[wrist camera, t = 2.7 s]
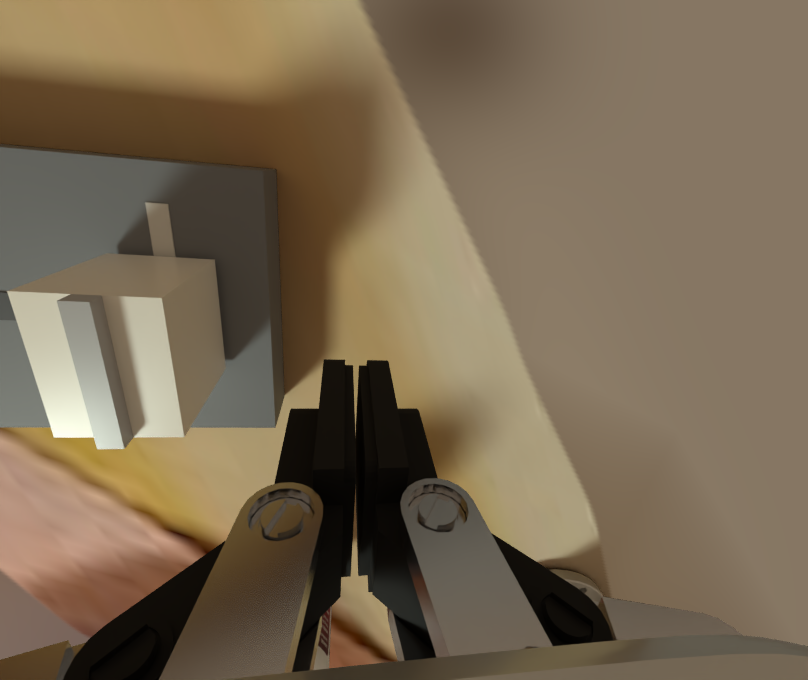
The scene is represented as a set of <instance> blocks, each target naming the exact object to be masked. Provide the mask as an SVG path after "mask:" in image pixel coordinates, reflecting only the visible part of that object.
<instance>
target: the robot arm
mask: <svg viewBox="0 0 808 680" xmlns="http://www.w3.org/2000/svg"><path fill="white" fill-rule="evenodd" d="M355 484H356V515H357V549H358V575H359V576H362V575H368V591H369V592H373V595H374V596H375V597H376V598H377V599H379V600H380V601H381V602H382V603H383V604H384V605H385V606H387V607H388V609H387V611H388V621H389V625H390V630H391V634H392V638H393V642H394V647H395V651H396V655H397V660H398V662H388V663H378V664H368V665H358V666H348V667H339V668H329V669H319V670H313V669H314V664H315V659H316V653H317V648H318V643H319V638H320V633H321V627H322V616H323V614H324V613H325V612H326V611H327V610H328V609H329V608H330V607H331V606H332V605H333V604H334V603H335V602H336V601H337V600H338V599H339V598H340V592H341V577H347V576H351V558H352V539H353V521H354V502H355ZM0 680H808V646H805V645H799V644H795V643H790V642H785V641H780V640H774V639H769V638H763V637H752V636H743V635H742V634H740V633H739V632H738V631H737V630H736V629H735V628H733V627H732V626H730V625H728V624H727V623H725V622H723V621H722V620H720V619H718V618H716V617H713V616H710V615H707V614H703V613H697V612H692V611H686V610H680V609H674V608H668V607H662V606H656V605H650V604H644V603H638V602H632V601H626V600H620V599H614V598H608V597H604V596H603V595H602V593H601V591H600V590H599V588H598V587H597V585H596V584H595V583H594V582H593V581H592V580H591V579H590V578H588V577H586V576H584V575H582V574H580V573H576V572H572V571H568V570H559V569H549V570H548V569H547V568H545V567H544V566H542V565H540V564H539V563H537V562H536V561H534V560H533V559H531V558H529V557H528V556H526V555H525V554H523V553H522V552H520V551H518V550H517V549H515V548H514V547H512V546H511V545H509V544H507V543H506V542H504V541H503V540H501V539H500V538H498V537H496V536H495V535H493V534H492V533H491V532H490V530H489V528H488V527H487V525H486V523H485V521H484V519H483V518H482V516H481V514H480V512H479V510H478V508H477V507H476V505H475V503H474V501H473V500H472V498H471V497H470V496H469V494H468V493H467V492H466V491H465V490H463V489H462V488H461V487H460V486H458V485H456V484H454V483H452V482H450V481H448V480H443V479H438V478H437V474H436V471H435V467H434V464H433V460H432V456H431V453H430V449H429V446H428V442H427V438H426V435H425V431H424V428H423V424H422V420H421V417H420V413H419V411H418V409H398V408H397V403H396V398H395V393H394V388H393V383H392V378H391V373H390V368H389V363H388V361H377V360H367V366H359V378H358V397H357V417H356V437H355V414H354V384H353V365H345V360H324V364H323V374H322V383H321V393H320V403H319V409H291V410H290V413H289V418H288V423H287V427H286V432H285V437H284V441H283V446H282V451H281V456H280V460H279V465H278V470H277V475H276V479H275V484H274V485H270V486H267V487H265V488H263V489H261V490H259V491H257V492H256V493H255V494H254V495H253V496H251V497H250V498H249V499H248V500H247V501H246V503H245V504H244V506H243V507H242V508H241V510H240V512H239V514H238V516H237V518H236V521H235V523H234V525H233V527H232V529H231V531H230V533H229V535H228V537H227V539H226V541H224V542H223V543H222V544H220V545H219V546H217V547H216V548H215V549H213V550H212V551H210V552H209V553H207V554H206V555H205V556H203V557H202V558H200V559H199V560H197V561H196V562H195V563H193V564H192V565H190V566H189V567H188V568H186V569H185V570H183V571H182V572H180V573H179V574H178V575H176V576H175V577H173V578H172V579H170V580H169V581H168V582H166V583H165V584H163V585H162V586H161V587H159V588H158V589H156V590H155V591H153V592H152V593H151V594H149V595H148V596H146V597H145V598H143V599H142V600H141V601H139V602H138V603H136V604H135V605H134V606H132V607H131V608H129V609H128V610H126V611H125V612H124V613H122V614H121V615H119V616H118V617H116V618H115V619H114V620H112V621H111V622H109V623H108V624H107V625H105V626H104V627H103V628H102V629H101V630H99V631H98V632H97V633H96V634H95V635H93V636H92V637H91V638H90V639H89V640H88V641H87V642H86V643H83V644H79V645H76V646H73V647H71V645H70V643H69V641H68V640H67V641H64V642H60V643H57V644H53V645H50V646H46V647H43V648H39V649H36V650H33V651H29V652H25V653H22V654H18V655H15V656H12V657H8V658H5V659H1V660H0Z"/></svg>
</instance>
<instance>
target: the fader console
mask: <svg viewBox="0 0 808 680" xmlns="http://www.w3.org/2000/svg"><path fill="white" fill-rule="evenodd" d="M106 253H111V254H128V255H146V256H163V257H180V258H197V259H214V260H215V267H216V276H217V286H218V296H219V306H220V316H221V326H222V335H223V345H224V355H225V365H226V369H225V371H224V372H223V374H222V375H221V377H220V379H219V380H218V382H217V384H216V385H215V387H214V389H213V390H212V392H211V394H210V395H209V397H208V399H207V400H206V402H205V404H204V405H203V407H202V409H201V410H200V412H199V414H198V415H197V417H196V418H195V420H194V422H193V423H192V425H191V427H242V428H275V427H276V424H277V420H278V417H279V413H280V410H281V406H282V403H283V399H284V369H283V341H282V314H281V286H280V259H279V231H278V204H277V176H276V169H268V168H257V167H246V166H235V165H224V164H213V163H203V162H192V161H181V160H170V159H159V158H148V157H137V156H126V155H115V154H104V153H93V152H82V151H72V150H61V149H50V148H39V147H28V146H17V145H6V144H0V427H51V426H50V423H49V420H48V417H47V414H46V411H45V408H44V405H43V401H42V398H41V395H40V392H39V389H38V386H37V383H36V380H35V377H34V373H33V370H32V367H31V364H30V361H29V358H28V355H27V352H26V349H25V346H24V342H23V339H22V336H21V333H20V330H19V327H18V324H17V321H16V318H15V315H14V311H13V308H12V305H11V302H10V299H9V296H8V293H7V291H9V290H11V289H14V288H17V287H19V286H22V285H25V284H27V283H30V282H32V281H35V280H38V279H40V278H43V277H46V276H48V275H51V274H54V273H56V272H59V271H61V270H64V269H67V268H69V267H72V266H75V265H77V264H80V263H82V262H85V261H88V260H90V259H93V258H96V257H98V256H101V255H104V254H106Z"/></svg>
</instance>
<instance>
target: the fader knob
mask: <svg viewBox="0 0 808 680" xmlns="http://www.w3.org/2000/svg"><path fill="white" fill-rule="evenodd" d="M7 293H8V296H9V299H10V302H11V305H12V308H13V311H14V315H15V318H16V321H17V324H18V327H19V330H20V333H21V336H22V339H23V342H24V346H25V349H26V352H27V355H28V358H29V361H30V364H31V367H32V370H33V373H34V377H35V380H36V383H37V386H38V389H39V392H40V395H41V398H42V401H43V405H44V408H45V411H46V414H47V417H48V420H49V423H50V426H51V429H52V432H53V436H54V437H94V440H95V443H96V447H97V449H125V447H126V446H127V445H128V444H129V442H130V441H131V440H132V439H133V437H185V435H186V433H187V432H188V430H189V428H190V427H191V425H192V423H193V422H194V420H195V418H196V417H197V415H198V414H199V412H200V410H201V409H202V407H203V405H204V404H205V402H206V400H207V399H208V397H209V395H210V394H211V392H212V390H213V389H214V387H215V385H216V384H217V382H218V380H219V379H220V377H221V375H222V374H223V372H224V371H225V369H226V365H225V355H224V345H223V335H222V326H221V316H220V306H219V296H218V286H217V276H216V267H215V260H214V259H197V258H180V257H163V256H146V255H128V254H111V253H106V254H104V255H101V256H98V257H96V258H93V259H90V260H88V261H85V262H82V263H80V264H77V265H75V266H72V267H69V268H67V269H64V270H61V271H59V272H56V273H54V274H51V275H48V276H46V277H43V278H40V279H38V280H35V281H32V282H30V283H27V284H25V285H22V286H19V287H17V288H14V289H11V290H9V291H7Z"/></svg>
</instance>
